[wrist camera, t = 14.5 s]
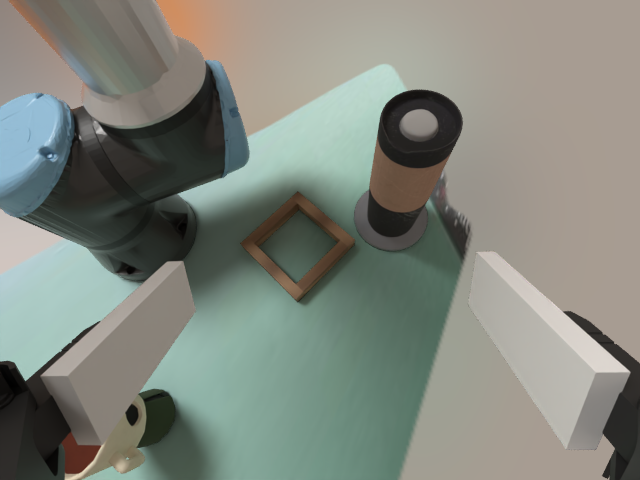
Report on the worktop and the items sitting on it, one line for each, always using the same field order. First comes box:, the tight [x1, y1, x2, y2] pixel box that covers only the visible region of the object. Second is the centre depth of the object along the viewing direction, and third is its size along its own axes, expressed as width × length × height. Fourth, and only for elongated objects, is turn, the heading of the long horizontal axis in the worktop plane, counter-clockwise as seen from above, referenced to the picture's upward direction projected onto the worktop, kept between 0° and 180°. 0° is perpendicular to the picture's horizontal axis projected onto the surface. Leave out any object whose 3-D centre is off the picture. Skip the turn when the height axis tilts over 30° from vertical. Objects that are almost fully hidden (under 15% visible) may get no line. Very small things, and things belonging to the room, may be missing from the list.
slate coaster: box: [354, 190, 428, 251], centre depth 47 cm, size 11×11×1 cm
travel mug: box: [367, 90, 463, 237], centre depth 37 cm, size 8×8×20 cm
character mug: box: [61, 389, 175, 480], centre depth 33 cm, size 11×7×13 cm, turn 58°
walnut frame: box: [240, 192, 355, 302], centre depth 46 cm, size 12×12×2 cm
